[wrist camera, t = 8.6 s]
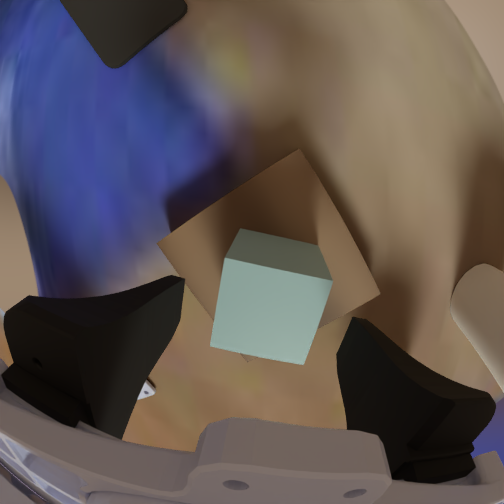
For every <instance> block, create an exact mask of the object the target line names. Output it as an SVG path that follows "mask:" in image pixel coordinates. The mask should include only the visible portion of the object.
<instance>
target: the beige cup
mask: <svg viewBox="0 0 504 504" xmlns="http://www.w3.org/2000/svg"><path fill="white" fill-rule="evenodd" d="M450 311H451V315H452V318H453V320H454V321H455V322H456V324H457V325H458V326H459V328H460V329H461V330H462V332H463V333H464V334H465V336H466V337H467V338H468V340H469V341H470V343H471V344H472V345H473V347H474V348H475V350H476V351H477V353H478V354H479V355H480V357H481V358H482V360H483V361H484V363H485V364H486V366H487V367H488V369H489V370H490V372H491V373H492V375H493V376H494V378H495V379H496V381H497V383H498V384H499V386H500V387H501V389H502V391H503V392H504V272H502V271H500V270H499V269H497V268H495V267H493V266H491V265H488V264H485V263H484V264H480V265H476V266H474V267H473V268H471V269H470V270H469V271H467V272H466V273H465V274H464V275H463V277H462V278H461V279H460V281H459V282H458V283H457V285H456V287H455V290H454V292H453V295H452V297H451V305H450Z"/></svg>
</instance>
